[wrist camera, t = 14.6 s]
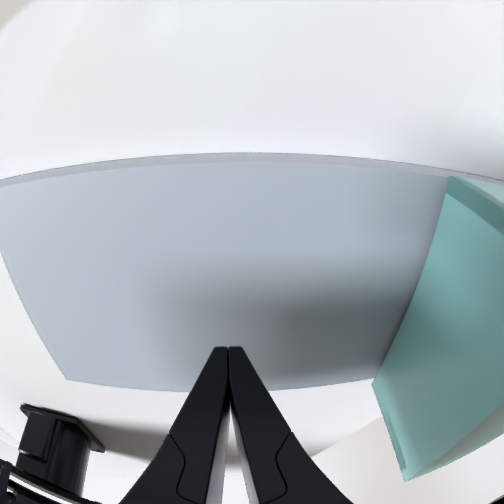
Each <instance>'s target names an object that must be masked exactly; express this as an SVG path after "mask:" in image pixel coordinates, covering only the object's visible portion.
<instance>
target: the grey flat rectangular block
mask: <svg viewBox="0 0 504 504" xmlns="http://www.w3.org/2000/svg"><path fill="white" fill-rule="evenodd" d="M449 175H451V176H457V177H463V178H468V179H474V180H479V181H484V182H489V183H493V184H498V185H503V186H504V181H500V180H496V179H492V178H487V177H483V176H478V175H473V174H468V173H463V172H458V171H453V170H447V169H441V168H435V167H429V166H423V165H416V164H409V163H401V162H393V161H385V160H376V159H366V158H355V157H343V156H329V155H312V154H288V153H209V154H185V155H168V156H154V157H142V158H131V159H121V160H112V161H104V162H96V163H89V164H81V165H75V166H68V167H62V168H56V169H50V170H45V171H39V172H34V173H29V174H24V175H19V176H15V177H10V178H6V179H2V180H0V252H1V255H2V258H3V260H4V263H5V265H6V268H7V270H8V273H9V275H10V278H11V280H12V282H13V284H14V287H15V289H16V291H17V293H18V295H19V298H20V300H21V302H22V304H23V306H24V308H25V310H26V312H27V314H28V316H29V318H30V320H31V322H32V324H33V325H34V327H35V329H36V331H37V333H38V334H39V336H40V338H41V340H42V341H43V343H44V345H45V347H46V348H47V350H48V352H49V353H50V355H51V357H52V358H53V360H54V361H55V363H56V364H57V366H58V368H59V369H60V371H61V372H62V374H63V375H64V377H65V378H66V379H67V380H71V381H77V382H84V383H90V384H97V385H104V386H112V387H121V388H131V389H142V390H155V391H173V392H190V391H191V390H192V388H193V386H194V384H195V382H196V380H197V378H198V376H199V375H200V373H201V371H202V369H203V367H204V365H205V363H206V361H207V359H208V358H209V356H210V354H211V352H212V350H213V348H214V347H216V346H226V347H228V348H229V347H230V346H241V347H242V348H243V349H244V351H245V353H246V354H247V356H248V358H249V360H250V361H251V363H252V365H253V367H254V368H255V370H256V372H257V374H258V375H259V377H260V379H261V381H262V382H263V384H264V386H265V387H266V389H267V391H273V390H286V389H298V388H308V387H317V386H325V385H333V384H340V383H347V382H353V381H359V380H365V379H371V378H375V377H376V375H377V373H378V371H379V370H380V368H381V366H382V364H383V362H384V360H385V358H386V356H387V354H388V352H389V350H390V348H391V346H392V344H393V341H394V339H395V337H396V335H397V333H398V331H399V328H400V326H401V324H402V322H403V319H404V317H405V315H406V312H407V310H408V307H409V305H410V303H411V300H412V298H413V295H414V293H415V290H416V287H417V285H418V282H419V279H420V277H421V274H422V271H423V268H424V265H425V262H426V259H427V256H428V253H429V250H430V247H431V244H432V241H433V238H434V234H435V231H436V227H437V224H438V220H439V217H440V213H441V209H442V205H443V201H444V197H445V193H446V189H447V184H448V180H449Z"/></svg>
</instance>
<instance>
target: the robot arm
mask: <svg viewBox="0 0 504 504" xmlns="http://www.w3.org/2000/svg"><path fill="white" fill-rule="evenodd" d="M230 404H231V414H232V420H233V426H234V431H235V436H236V441H237V446H238V451H239V456H240V461H241V466H242V471H243V476H244V480H245V485H246V489H247V494H248V498H249V503H250V504H353V503H352V502H351V501H350V500H348V498H346V497H345V496H344V495H343V494H342V493H341V492H340V491H339V489H338V488H337V487H335V485H334V484H333V483H332V482H331V481H330V480H329V479H328V478H327V477H326V475H325V474H324V473H323V472H322V471H321V470H320V469H319V468H318V467H317V465H316V464H315V463H314V462H313V460H312V459H311V458H310V457H309V456H308V454H307V453H306V451H305V450H304V449H303V447H302V446H301V444H300V443H299V441H298V440H297V438H296V437H295V435H294V433H293V432H291V429H290V427H289V426H288V424H287V422H286V421H285V419H284V417H283V416H282V414H281V412H280V411H279V409H278V408H277V406H276V404H275V403H274V401H273V399H272V398H271V396H270V394H269V392H268V391H267V389H266V387H265V386H264V384H263V382H262V381H261V379H260V377H259V375H258V374H257V372H256V370H255V368H254V367H253V365H252V363H251V361H250V360H249V358H248V356H247V354H246V353H245V351H244V349H243V348H242V347H241V346H230V347H229V348H228V347H226V346H216V347H214V348H213V350H212V352H211V354H210V356H209V358H208V359H207V361H206V363H205V365H204V367H203V369H202V371H201V373H200V375H199V376H198V378H197V380H196V382H195V384H194V386H193V388H192V390H191V391H190V393H189V395H188V397H187V399H186V401H185V403H184V404H183V406H182V408H181V410H180V412H179V414H178V416H177V418H176V419H175V421H174V423H173V425H172V427H171V429H170V431H169V434H167V436H166V438H165V439H164V441H163V443H162V445H161V447H160V448H159V450H158V452H157V453H156V455H155V457H154V458H153V460H152V461H151V463H150V464H149V465H148V467H147V468H146V470H145V471H144V472H143V474H142V475H141V476H140V478H139V479H138V480H137V481H136V483H135V484H134V486H133V487H132V488H131V489H130V490H129V492H128V493H127V494H126V496H125V497H124V498H123V499H122V500H121V502H120V503H119V504H222V494H223V483H224V473H225V463H226V453H227V442H228V432H229V422H230ZM20 410H21V411H22V412H23V413H24V414H25V415H26V416H27V417H28V420H27V423H26V426H25V429H24V432H23V435H22V438H21V441H20V445H19V448H18V450H19V456H18V459H17V463H16V467H15V466H13V465H12V463H10V462H8V461H4V460H2V459H0V504H61V503H59V502H56V501H54V500H52V499H49V498H47V497H45V496H43V495H40V494H38V493H36V492H34V491H32V490H30V489H28V488H26V487H24V486H22V485H20V484H18V483H16V482H14V481H13V480H11V479H9V476H10V475H12V476H14V477H16V478H18V479H20V480H21V481H23V482H25V483H27V484H29V485H31V486H33V487H35V488H37V489H40V490H42V491H44V492H46V493H48V494H50V495H53V496H55V497H57V498H60V499H62V500H65V501H67V502H70V503H72V504H102V503H99V502H96V501H95V502H94V501H90V500H88V499H85V498H82V493H83V486H84V481H85V475H86V470H87V464H88V459H89V454H90V450H91V451H96V452H101V453H105V448H104V447H103V446H102V445H101V444H100V443H99V442H98V441H97V440H96V439H95V438H94V437H93V436H92V435H91V434H90V433H89V431H88V430H87V429H86V428H85V427H84V426H83V425H82V424H81V423H80V422H79V421H78V420H76V419H73V418H69V417H65V416H61V415H57V414H53V413H49V412H46V411H42V410H39V409H35V408H32V407H29V406H25V405H21V406H20ZM7 488H8V489H10V490H11V491H13V493H11V492H7ZM489 504H504V495H502V496H501V497H499V498H497V499H496V500H494V501H492V502H491V503H489Z"/></svg>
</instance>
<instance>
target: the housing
mask: <svg viewBox="0 0 504 504" xmlns="http://www.w3.org/2000/svg"><path fill="white" fill-rule="evenodd" d="M371 385H372V387H373V390H374V393H375V396H376V398H377V401H378V404H379V407H380V409H381V412H382V415H383V418H384V421H385V423H386V426H387V429H388V432H389V435H390V438H391V441H392V444H393V447H394V450H395V453H396V457H397V460H398V463H399V466H400V469H401V472H402V475H403V479H404V482H406V481H409V480H411V479H414V478H417V477H419V476H422V475H424V474H427V473H429V472H431V471H434V470H436V469H438V468H441V467H443V466H445V465H447V464H449V463H451V462H453V461H455V460H457V459H459V458H461V457H463V456H465V455H467V454H469V453H471V452H473V451H475V450H476V449H478V448H480V447H481V446H483V445H485V444H487V443H489V442H490V441H492V440H494V439H495V438H497V437H498V436H500V435H502V434H503V433H504V186H503V185H498V184H493V183H489V182H484V181H479V180H474V179H468V178H463V177H457V176H451V175H449V180H448V184H447V189H446V193H445V197H444V201H443V205H442V209H441V213H440V217H439V220H438V224H437V227H436V231H435V234H434V238H433V241H432V244H431V247H430V250H429V253H428V256H427V259H426V262H425V265H424V268H423V271H422V274H421V277H420V279H419V282H418V285H417V287H416V290H415V293H414V295H413V298H412V300H411V303H410V305H409V307H408V310H407V312H406V315H405V317H404V319H403V322H402V324H401V326H400V328H399V331H398V333H397V335H396V337H395V339H394V341H393V344H392V346H391V348H390V350H389V352H388V354H387V356H386V358H385V360H384V362H383V364H382V366H381V368H380V370H379V371H378V373H377V375H376V377H375V379H374V381H373V383H372V384H371Z"/></svg>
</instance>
